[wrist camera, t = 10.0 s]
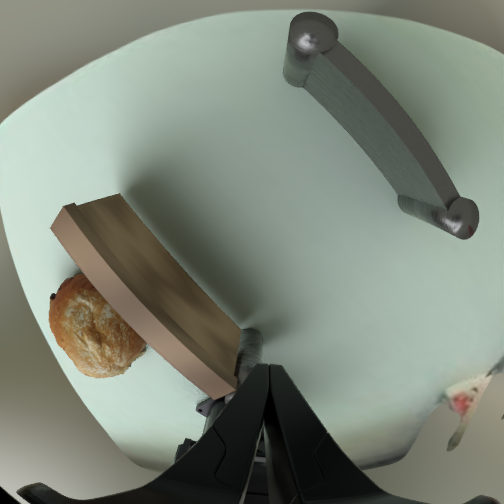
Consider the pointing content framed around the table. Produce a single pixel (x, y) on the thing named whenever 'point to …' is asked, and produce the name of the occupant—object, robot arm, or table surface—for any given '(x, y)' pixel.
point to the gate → (151, 291)
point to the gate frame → (366, 141)
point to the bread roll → (92, 330)
